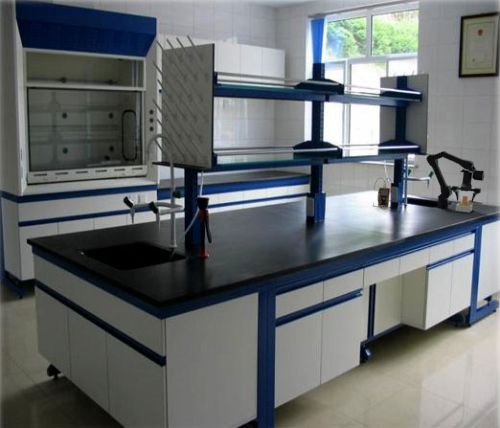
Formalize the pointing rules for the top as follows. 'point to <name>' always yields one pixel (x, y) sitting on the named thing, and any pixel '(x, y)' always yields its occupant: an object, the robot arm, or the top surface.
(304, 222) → the top surface
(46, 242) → the top surface
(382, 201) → the multimeter
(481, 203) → the clip
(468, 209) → the socket block
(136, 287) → the top surface
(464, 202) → the plug
